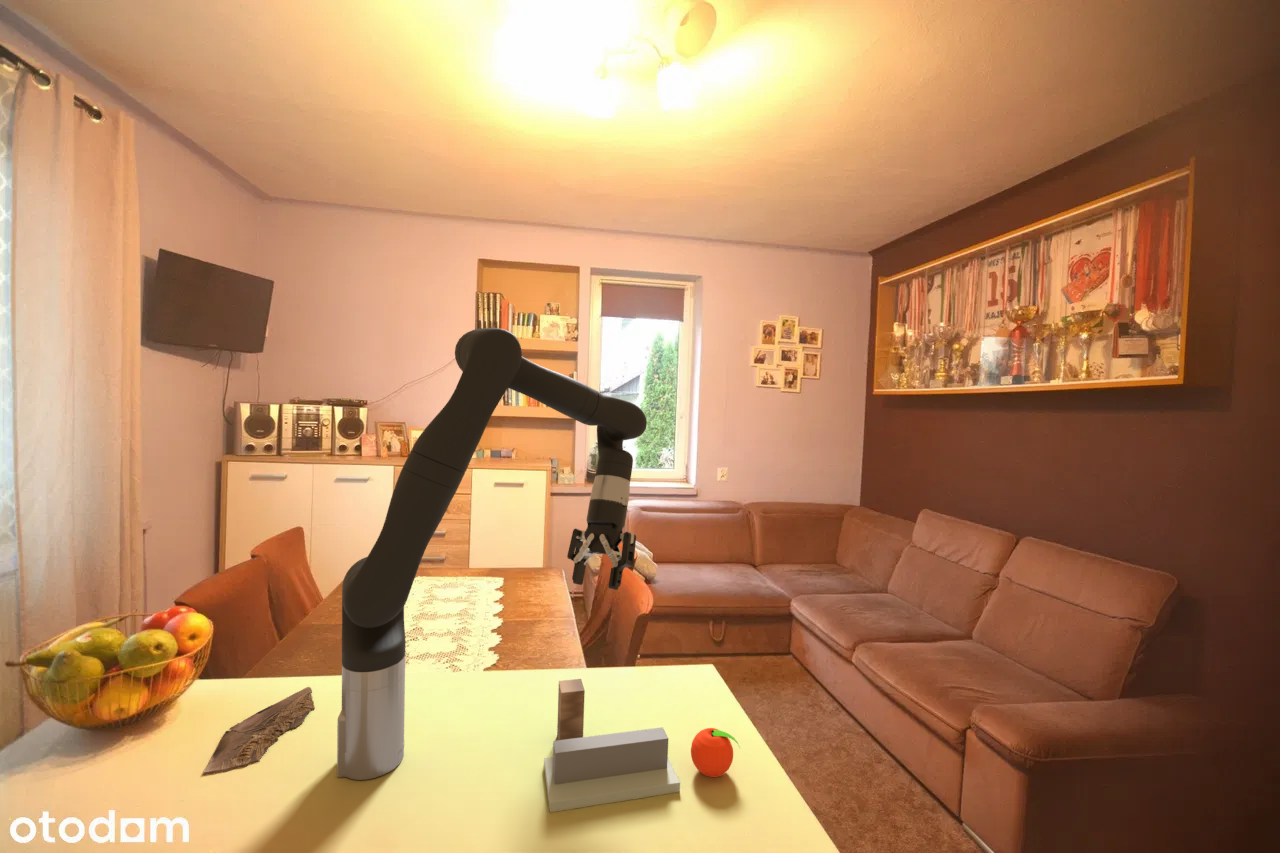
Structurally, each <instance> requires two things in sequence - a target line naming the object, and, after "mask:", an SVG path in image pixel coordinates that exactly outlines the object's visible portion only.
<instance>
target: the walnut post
mask: <svg viewBox="0 0 1280 853" xmlns="http://www.w3.org/2000/svg"><path fill="white" fill-rule="evenodd" d="M582 680H583V679H582V678H577V679H576V678H575V679H567V680H566V679H565V680H558V693H557V694H558V695H557V699H558V700H557V724H556V725H557V726H556V727H557V729H556V730H557V732H556V736H557V740H565V739H573V738H581V737H584V723H585V722H584V719H585V693H586V692H585V687H584V684H583V681H582Z"/></svg>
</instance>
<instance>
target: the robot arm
mask: <svg viewBox="0 0 1280 853" xmlns="http://www.w3.org/2000/svg"><path fill="white" fill-rule="evenodd" d="M522 352H523V351H522V347H521V343H520V341H519V340H518V337H517V336H516V335H515V334H513V333H512V332H510V331H509V330H506V329H504V328H499V327H483V328H476V329H472V330H470V331H468V332H467V331H466V333H464V334H462V335H461V337H459V339H458V340H457V343H456V344H455V347H454V357H455V361H456V362H455V363H456V364H457V366H458V368H459V369H460V371H461V372H462V373H461V375H460V378H459V380H458V382H457V384H456V387H455V389H454V391H453V393H452V394H451V396H450V398H449V399H448V400H447V403H446V404H445V405H444V406H443V407H442V409H440V411H439V412H438V413H437V415H435V417H434V418H433V419H432V420H431V421H430V422H429V424H427V426H426V427H425V428H424V429H423V431H422V433H420V435H419V436H418V438H417V440H416V441H415V443H414V444H413V445H412V448H411V450H410V451H409V454H408V456H407V458H406V460H405V462H404V464H403V465H402V468H401V470H400V473H399V475H398V477H397V481H396V482H395V486H394V488H393V492H392V495H391V498H390V501H389V503H388V504H389V506H388V509H387V512H386V516H385V520H384V522H383V526H382V527H381V528H382V529H381V531H380V532H379V535H378V537H377V539H376V541H375V543H374V544H373V547H372V548H371V550H370V552H369V553H368V555H367V556H366V557H363V558H361V559H359V560H358V561H356V562H355V563H353V564H352V565H351V566H350V568H348V570H347V572H346V574H345V575H344V578H343V581H342V586H341V587H342V588H341V591H342V593H341V710H340V712H339V715H338V716H337V726H336V728H337V730H336V731H337V735H336V736H337V740H336V742H337V744H336V745H337V746H336V747H337V749H336V750H337V752H336V753H337V754H336V755H337V756H336V759H337V760H336V762H337V763H336V764H337V765H336V777H338V778H341V777H345V778H349V779H351V780H356V781H357V780H358V781H365V780H371V779H375V778H378V777H381V776H384V775H386V774H388V773H390V772H391V771H393V770H394V769H396V768H397V767H398V766H399V765H400V764H401V763H402V761H403V759H404V756H405V754H404V753H405V710H406V709H405V707H406V706H405V705H406V703H405V702H406V701H405V699H406V698H405V695H406V693H405V692H406V642H407V641H406V630H405V605H406V603H407V601H408V598H409V596H410V593H411V589H412V587H413V583H414V580H415V578H416V576H417V573H418V571H419V568H420V564H421V562H422V559H423V557H424V554H425V552H426V550H427V547H428V545H429V543H430V541H431V539H432V538H433V536H434V534H435V532H436V530H437V529H438V527H439V525H440V523H441V521H442V520H443V518H444V516H445V514H446V512H447V510H448V508H449V506H450V504H451V502H452V500H453V498H454V497H455V495H456V493H457V491H458V489H459V486H460V484H461V482H462V480H463V478H464V476H465V474H466V472H467V469H468V467H469V466H470V463H471V460H472V458H473V456H474V454H475V452H476V450H477V447H478V446H479V443H480V441H481V439H482V437H483V435H484V432H485V430H486V428H487V425H488V423H489V421H490V419H491V417H492V415H493V414H494V412H495V410H496V408H497V406H498V405H499V403H500V401H501V400H502V398H503V397H504V395H505V393H506V392H507V390H508V389H510V390H512V391H515V392H517V393H520V394H522V395H524V396H526V397H529V398H531V399H533V400H535V401H537V402H539V403H541V404H543V405H544V406H546V407H548V408H551V409H552V410H554V411H557V412H558V413H561V414H563V415H564V416H566V417H568V418H570V419H573V420H574V421H576V422H580V423H581V424H584V425H587V426H596V440H597V442H596V443H597V452H598V459H597V466H596V470H595V477H594V481H593V484H592V487H591V492H590V496H589V497H590V498H589V504H588V509H587V515H586V523H587V527H586V529H585V530H581V529H579V528H574V529H572V533H571V538H570V544H569V548H568V552H567V555H566V557H567V559H569V560H570V561H573V563H574V565H573V571H572V575H571V576H572V583H573V584H575V585H579V586H582V585H583V584H584V579H585V573H586V567H587V566H586V564H587V563H588V562H589V560H590V558H593V557H594V556H595V555H596V554H597V555H606V556H607V557H608V558H609V560H610V561H611V565H612V567H611V569H610V573H609V574H610V575H609V581H608V589H609V590H614V591H616V590H619V587H621V585H622V579H623V578H622V577H623V572H624V569H625V568H628V567H633V566H634V563H635V553H636V543H637V535H636V534H634V533H632V532H628V531H625V532H623V530H624V528H625V526H626V518H627V514H628V512H627V511H628V508H629V507H628V506H629V501H630V499H629V498H630V492H631V491H630V489H631V488H630V487H631V486H630V485H631V479H632V472H633V464H634V459H633V455H632V454H631V453H630V452H629V451H627V450H626V449H625V450H624V446H623V445H624V444H623V443H624V441H628V440H634V439H636V438H639V437H640V436H642V435H643V434H644V432H645V431H646V429H647V426H648V420H647V418H646V415H645V412H644V411H643V410H642V409H641V408H640V407H639V406H638V405H636V404H635V403H634V402H631V401H628V400H625V399H623V398H618V397H616V396H613V395H608V394H604V393H601V392H599V391H598V390H597V389H594V388H592V387H591V386H588V385H587V384H585V383H583V382H581V381H579V380H578V379H575V378H572V377H570V376H568V375H565V374H562V373H560V372H557V371H554V370H552V369H550V368H546V367H544V366H542V365H539V364H537V363H535V362H534V361H532V360H530V359H527V358H525V357H524V356H523V353H522ZM621 543H622V547H621V548H620V546H619V545H620V544H621Z"/></svg>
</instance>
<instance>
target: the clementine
mask: <svg viewBox="0 0 1280 853" xmlns="http://www.w3.org/2000/svg"><path fill="white" fill-rule="evenodd" d="M730 739H731V740H733V741H735V743H736V744H737V745H738V747H739V748H738V749H741V746H740V745H739V743H738V741H737V740H736V739H735V737H733V736H732V735H731V734H730V733H728V732H726V731H723V730H720V729H718V728H715V727H708V728H704V729H702V730H700V731H699V732H697V733H696V734H695V736H694V738H693V740H692V741H691V748H690V755H691V760H692V763H693V766H694V767H695V769H697V771H699V773H701V774H702V775H704V776H707V777H709V778H717V777H721V776H723V775H725V773H727V772H728V771H729V770H730V767H731V765H732V764H733V759H734V748H733V744H732V742H731V740H730Z"/></svg>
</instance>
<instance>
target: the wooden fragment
mask: <svg viewBox="0 0 1280 853" xmlns="http://www.w3.org/2000/svg"><path fill="white" fill-rule="evenodd" d="M312 692H313V690H312V688H311V687H310V686H307V687H305V688H302V689H301V690H299V691H297V692H295V693H293V694H291V695H289V696H287V697H285V698H284V699H281V700H280V701H278V702H276V703H274V704H271V705H269V706H267V707H265V708H263V709H262V710H259V711H258V712H256V713H254V714H252V715H251V716H248V717H247V718H245V719H244V720H242V721H240V722H239V723H236V724H234V725H232V726H230V727H229V730H226V731H225V732H224V733H223V735H222V737H221V739H220V740H219V743H218V745H217V747H216V749H215V751H214V752H213V754H212V756H211V758H210V760H209V762H208V764H207V765H206V767H205V768H204V770H203V773H202V775H204V776H207V775H206V774H209V775H214V773H215V774H222V772H223V773H226V772H230V771H232V770H235V769H240V768H245V767H247V766H249V765H253V764H255V763H258V762H261V758H263V755H264V754H265V753H266V752H267V751H268V749H269V747H271V745H273V744H275V742H277V741H279V738H280V737H281V736H282V735H284V734H285V732H288V731H291V730H293V729H295V728H297V727H299V726H300V725H301V724H302V723H303V722H305V719H306V718H307V715H308V714H309V713H310V712H311V711H313V710H315V708H316V707H315V705H314V704H315V703H314V702H315V701H314V700H313V696H312Z"/></svg>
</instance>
